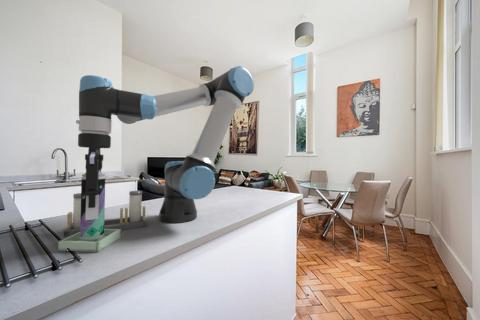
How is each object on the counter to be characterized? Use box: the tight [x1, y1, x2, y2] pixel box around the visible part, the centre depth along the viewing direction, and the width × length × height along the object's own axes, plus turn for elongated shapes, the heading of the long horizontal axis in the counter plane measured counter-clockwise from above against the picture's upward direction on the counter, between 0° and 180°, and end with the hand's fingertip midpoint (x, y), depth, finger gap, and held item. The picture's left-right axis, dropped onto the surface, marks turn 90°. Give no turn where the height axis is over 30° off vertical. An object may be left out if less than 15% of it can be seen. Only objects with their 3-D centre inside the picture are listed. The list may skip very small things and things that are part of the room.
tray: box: [57, 229, 122, 253], centre depth 58 cm, size 10×10×2 cm
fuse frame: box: [63, 206, 148, 238], centre depth 72 cm, size 23×9×6 cm, turn 120°
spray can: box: [80, 171, 106, 241], centre depth 58 cm, size 6×6×20 cm
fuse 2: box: [128, 190, 143, 223], centre depth 76 cm, size 4×4×12 cm
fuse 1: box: [72, 192, 81, 229], centre depth 68 cm, size 4×4×12 cm
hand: (93, 216), depth 58 cm, fingers closed on spray can, 5 cm apart
